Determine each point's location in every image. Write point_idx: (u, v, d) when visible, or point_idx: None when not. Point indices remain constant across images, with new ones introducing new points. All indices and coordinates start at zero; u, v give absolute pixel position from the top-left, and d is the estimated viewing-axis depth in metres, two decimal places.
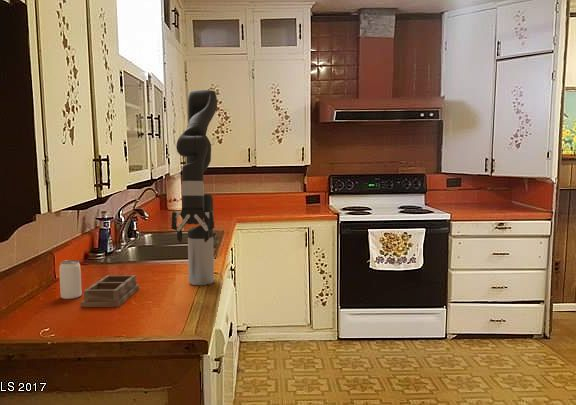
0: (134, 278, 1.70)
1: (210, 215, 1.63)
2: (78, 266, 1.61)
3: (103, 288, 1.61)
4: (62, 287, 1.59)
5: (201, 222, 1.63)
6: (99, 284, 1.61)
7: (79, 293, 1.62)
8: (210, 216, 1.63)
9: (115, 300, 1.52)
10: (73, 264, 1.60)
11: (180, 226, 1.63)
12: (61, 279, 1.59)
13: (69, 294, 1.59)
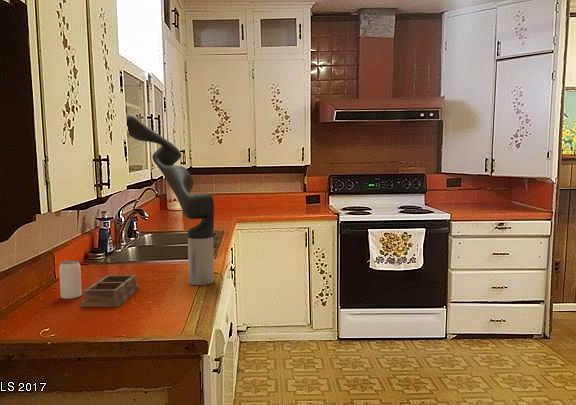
0: (134, 278, 1.70)
1: None
2: (78, 266, 1.61)
3: (103, 288, 1.61)
4: (62, 287, 1.59)
5: None
6: (99, 284, 1.61)
7: (79, 293, 1.62)
8: None
9: (115, 300, 1.52)
10: (73, 264, 1.60)
11: None
12: (61, 279, 1.59)
13: (69, 294, 1.59)
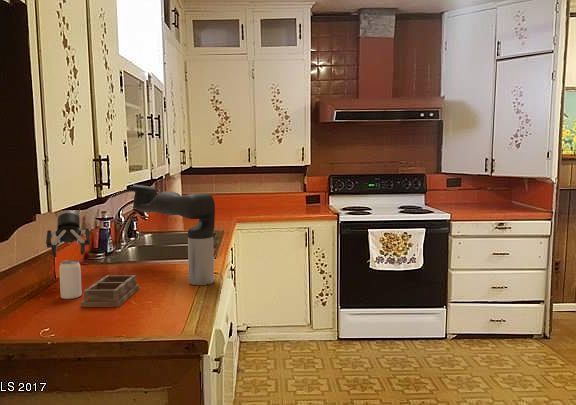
0: (134, 278, 1.70)
1: (86, 230, 1.76)
2: (78, 266, 1.61)
3: (103, 288, 1.61)
4: (62, 287, 1.59)
5: (77, 235, 1.73)
6: (99, 284, 1.61)
7: (79, 293, 1.62)
8: (86, 231, 1.75)
9: (115, 300, 1.52)
10: (73, 264, 1.60)
11: (56, 241, 1.70)
12: (61, 279, 1.59)
13: (69, 294, 1.59)
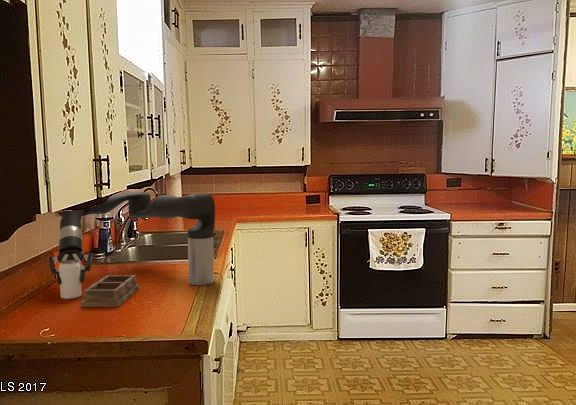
0: (134, 278, 1.70)
1: (89, 256, 1.67)
2: (78, 266, 1.61)
3: (103, 288, 1.61)
4: (62, 287, 1.59)
5: (79, 261, 1.64)
6: (99, 284, 1.61)
7: (79, 293, 1.62)
8: (89, 257, 1.67)
9: (115, 300, 1.52)
10: (73, 264, 1.60)
11: None
12: (61, 279, 1.59)
13: (69, 294, 1.59)
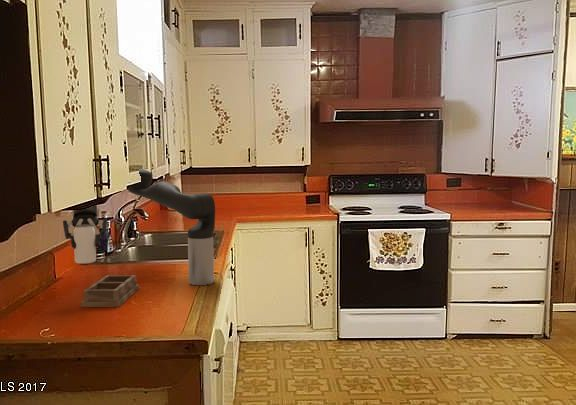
0: (134, 278, 1.70)
1: (104, 221, 1.62)
2: (93, 230, 1.56)
3: (103, 288, 1.61)
4: (76, 251, 1.54)
5: (94, 226, 1.60)
6: (99, 284, 1.61)
7: (94, 258, 1.57)
8: (104, 222, 1.62)
9: (115, 300, 1.52)
10: (88, 228, 1.55)
11: None
12: (76, 243, 1.54)
13: (84, 258, 1.54)
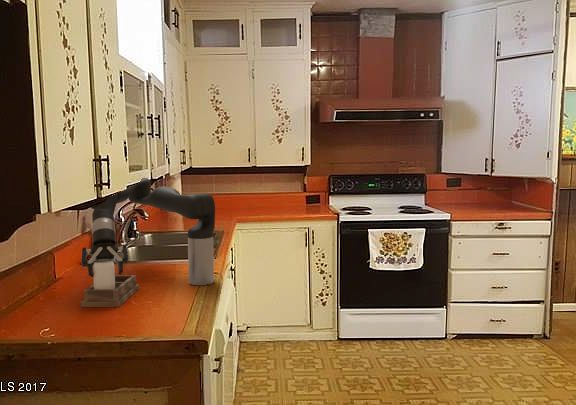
0: (134, 278, 1.70)
1: (124, 247, 1.62)
2: (113, 265, 1.56)
3: None
4: (97, 287, 1.53)
5: (115, 253, 1.59)
6: None
7: None
8: (124, 248, 1.62)
9: (115, 300, 1.52)
10: (108, 263, 1.54)
11: (92, 259, 1.56)
12: (96, 279, 1.53)
13: None
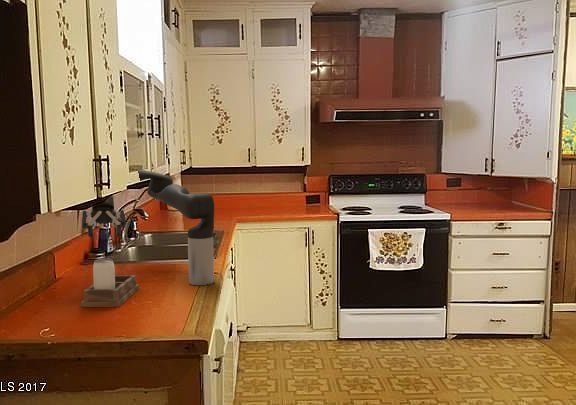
0: (134, 278, 1.70)
1: (121, 212, 1.73)
2: (113, 265, 1.56)
3: None
4: (97, 287, 1.53)
5: (113, 217, 1.70)
6: None
7: None
8: (121, 213, 1.73)
9: (115, 300, 1.52)
10: (108, 263, 1.54)
11: (92, 222, 1.67)
12: (96, 279, 1.53)
13: None
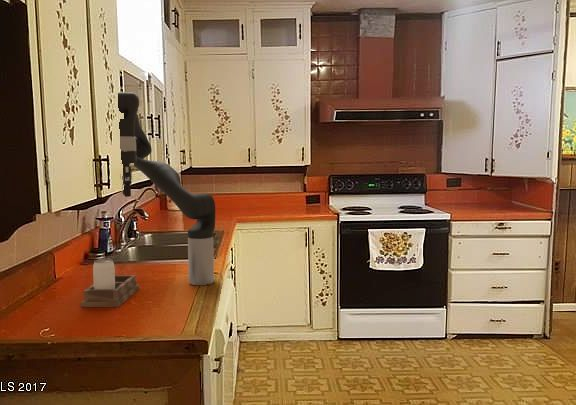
0: (134, 278, 1.70)
1: None
2: (113, 265, 1.56)
3: None
4: (97, 287, 1.53)
5: None
6: None
7: None
8: None
9: (115, 300, 1.52)
10: (108, 263, 1.54)
11: (130, 181, 1.68)
12: (96, 279, 1.53)
13: None
